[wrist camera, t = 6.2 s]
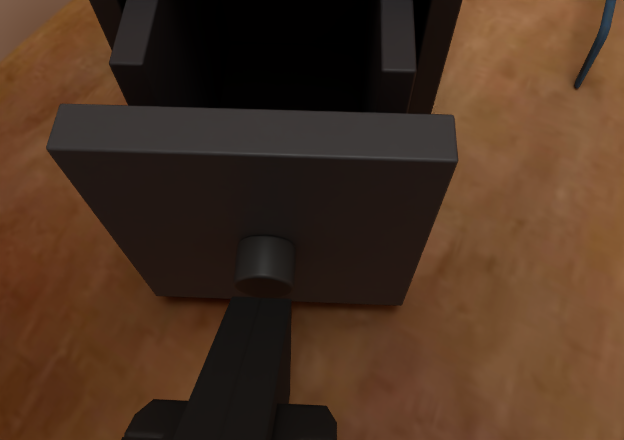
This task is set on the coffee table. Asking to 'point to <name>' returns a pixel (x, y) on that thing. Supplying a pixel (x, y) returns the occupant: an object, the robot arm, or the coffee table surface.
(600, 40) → the sunglasses
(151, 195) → the pulled-out drawer
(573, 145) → the coffee table surface
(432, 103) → the dark grey drawer box
